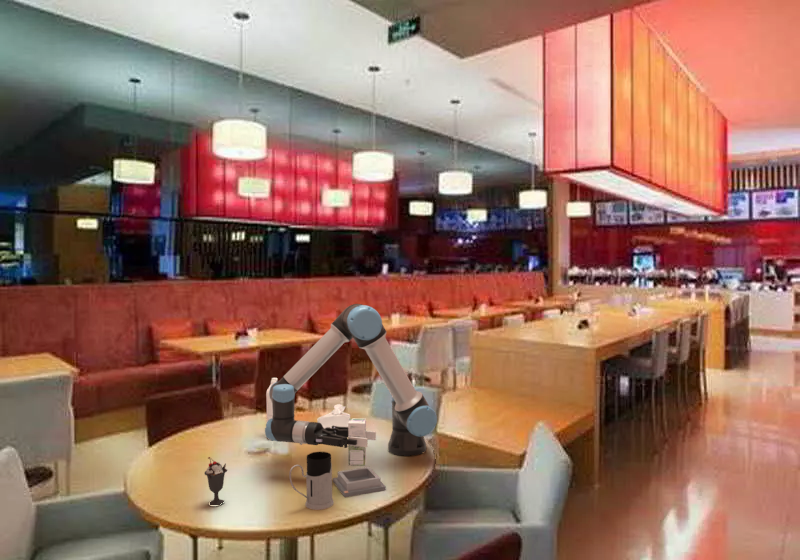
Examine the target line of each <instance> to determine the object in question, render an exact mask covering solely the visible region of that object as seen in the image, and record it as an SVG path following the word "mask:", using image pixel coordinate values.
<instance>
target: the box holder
mask: <svg viewBox="0 0 800 560" xmlns="http://www.w3.org/2000/svg"><path fill="white" fill-rule="evenodd" d="M332 483H333V484H334V485H335V486H336V488H337V489H338V490H339V492H340V493H341V494H342V496H343V497H344V498H348V497H353V496H360V495H364V494H372V493H376V492H383V491H386V489H387V487H386V485H385V484H384V483H383V481H381V477H380V476H379V475H378V474H377V473H376V472H375V471H374V469H372V468H371V467H370V466H365V467H364V466H363V467H359V468H353V469H346V470H340V471H337V477H332Z"/></svg>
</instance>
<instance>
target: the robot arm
mask: <svg viewBox="0 0 800 560" xmlns="http://www.w3.org/2000/svg"><path fill="white" fill-rule="evenodd" d="M386 336H387V329H386V328H385V327H384V325H383V320H382V317H381V315H380V313H379V312H378V311H377V310H376V309H375V308H374V307H372V306H369V305H365V304H362V303H361V304H360V303H353V304H351V305H347V307H345V309H343V311H342V312H341V313H340V314H339V315H338V316H337V317H336V318H335V320H333V322H331V323H330V329H328V330H327V331H326V332H325V333H324V335H323V336H322V337H320V339H319V340H317V341H316V343H315V344H314V345H313V346H312V347H311V348H310V349H309V350H308V351H306V353H305V354H304V355H303V356H302V357H301V358H300V359H299V360H298V361H297V362H296V363H295V364H294V365H293V366H292V367H291V368H290V369H289V370H288V371H287V372H286V373H285V374H284V375H283V376H282V377H281V378H280V380H277V382H276V383H274V384H273V385H272V386H271V388H270V391H269V396H270V399H271V401H272V407H273V418H271V419H269V420H268V422H267V421H266V424H265V428H264V433H265V437H266V439H267V438H268V439H270V440H269V441H276V442H277V443H278V442H279V443H280V442H283V443H293V444H299V445H300V446H302V445H305V444H306V445H311V446H312V445H313V446H318V445H324V446H325V445H326V446H331V447H336V448H337V447H339V448H345V449H346V448H347V449H348V445H351V446H360V447H366V448H367V447H368V440H371V441H376V440H377V439H376V437H377V435H376V434H377V432H376V431H373V430H366V438H360V437H350V436H349V437H348V427H338V426H332V428H330V427H327V428H325V429H324V428H323V426H322V424H321V423H318V421H317V422H316V421H308V420H307V421H305V420H295V396H296V393H297V392H298V391H299V390H300V389H301V387H303V386H304V384H305V383H307V382H308V381H309V379H310V378H311V377H312V376H314V375H315V374H316V373H317V371H318V370H319V369H320V368H321V367H322V366H324V364H325V363H326V362H327V361H328V360H329V359H330V358H331V357H332V356H333V355H334V354H335V353H336V352H337V351H338V350H339V349H340V348H341V347H342V346H343V344H345V343H349V342H350V341H351V340H352V339H353V340H354V343H356V345H357V347H358V348H359V349H361V350H364V351H365V353H366V355H367V356H368V357H369V360H370V361H371V363H372V365H373V366H374V367H375V369H376V372H378V375H379V376H380V379H382V382H383V384H384V385H385V387H386V389H387V391H388V392H389V394H390V395H391V421H392V424H391V425H392V427H391V428H392V430H391V435H390V437H389V442H388V444H387V451H388V450H389V451H388V452H389V453H390V452H391V453H390V454H392V453H393V454H392V455H395V454H396V455H397V456H401V455H404V456H405V457H406V456H408V457H409V456H410V455H413V456H417V455H421V454H424V453H425V452H426V451H427V443H426V442H427V441H426V440H425V436H428V435H429V434H431V433H432V432H433V431H434V430H435V428H436V425H437V422H438V416H437V413H436V411H435V409H434V408H433V407H431V406H430V405H429V403H428V402H427V399H426V398H425V396H424V394H423V393H422V392H421V391H417V390H416V388H415V387H414V385H413V384H412V382H411V380H410V379H409V376H408V375H407V373H406V372H405V369H404V367H403V366H402V363H400V360H399V359H398V357H397V355H396V353H395V352H394V351H393V349H392V347H391V345H390V343H389V342H388V340H387V338H386ZM268 439H267V440H268ZM396 455H395V456H396ZM404 456H403V457H404Z"/></svg>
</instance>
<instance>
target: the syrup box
mask: <svg viewBox="0 0 800 560" xmlns="http://www.w3.org/2000/svg"><path fill="white" fill-rule="evenodd" d="M366 431H367V418H366V417H365V418H350V419H349V423H348V437H349V436H350V437H360V438H366ZM348 437H347V438H348ZM366 449H367V447H360V446H351V445H348V444H347V453H348V455H347V457H348V459H347V461H348V462H347V463H348V466H355V467H356V466H360V467H361V466H363V467H364V466H365V465H366V462H367V452H366V451H367V450H366Z"/></svg>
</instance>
